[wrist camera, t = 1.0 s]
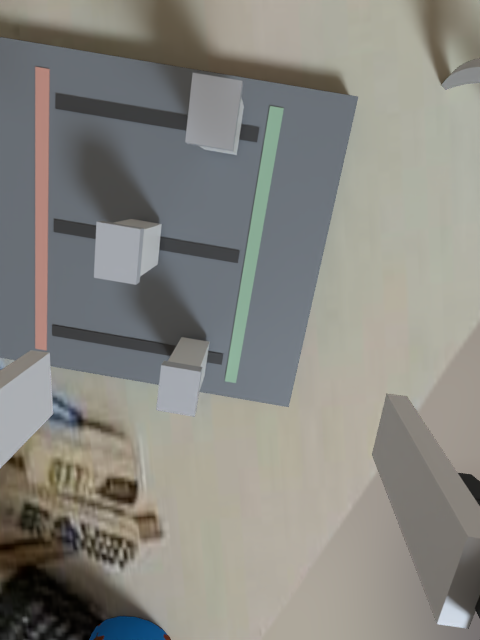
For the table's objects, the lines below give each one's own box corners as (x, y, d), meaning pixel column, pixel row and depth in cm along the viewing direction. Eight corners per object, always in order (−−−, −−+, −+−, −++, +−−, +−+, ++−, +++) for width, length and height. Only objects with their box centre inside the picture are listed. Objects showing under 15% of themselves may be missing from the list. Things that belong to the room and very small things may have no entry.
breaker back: (174, 372, 35) (156, 410, 29) (179, 334, 34) (161, 365, 28) (206, 378, 35) (194, 416, 29) (212, 339, 34) (200, 372, 28)
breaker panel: (-5, 345, 38) (-20, 354, 36) (-15, 41, 30) (-35, 30, 28) (287, 396, 38) (288, 407, 36) (352, 102, 30) (358, 96, 28)
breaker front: (201, 152, 29) (185, 142, 23) (207, 97, 28) (192, 72, 22) (239, 158, 29) (232, 150, 23) (247, 104, 28) (242, 80, 22)
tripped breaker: (125, 261, 32) (93, 277, 26) (128, 215, 31) (96, 221, 25) (159, 267, 32) (136, 284, 26) (164, 221, 31) (140, 229, 25)
